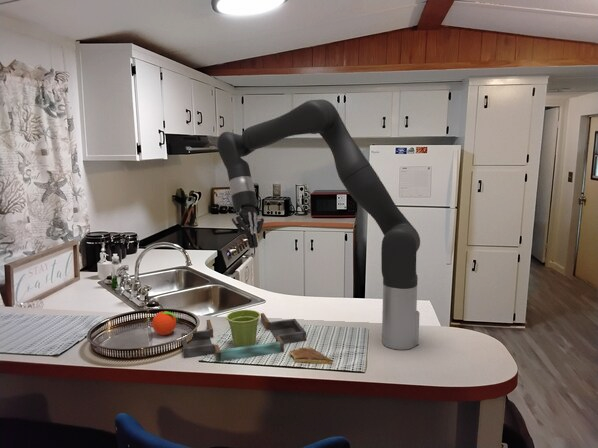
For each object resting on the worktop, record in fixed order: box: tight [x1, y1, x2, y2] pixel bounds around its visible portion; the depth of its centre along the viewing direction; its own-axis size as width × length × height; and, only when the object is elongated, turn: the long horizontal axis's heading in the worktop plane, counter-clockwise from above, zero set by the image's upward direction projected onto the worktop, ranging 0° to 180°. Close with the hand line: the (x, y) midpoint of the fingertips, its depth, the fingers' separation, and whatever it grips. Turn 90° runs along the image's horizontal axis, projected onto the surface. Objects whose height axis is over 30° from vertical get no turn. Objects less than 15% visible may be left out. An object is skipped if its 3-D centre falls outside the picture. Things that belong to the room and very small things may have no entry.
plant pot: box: [225, 309, 261, 348], centre depth 128 cm, size 9×9×9 cm
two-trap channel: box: [180, 312, 307, 362], centre depth 133 cm, size 34×24×2 cm
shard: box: [288, 346, 334, 365], centre depth 119 cm, size 11×8×2 cm
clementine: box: [151, 310, 179, 336], centre depth 137 cm, size 8×7×7 cm
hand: (253, 247), depth 139 cm, fingers closed
